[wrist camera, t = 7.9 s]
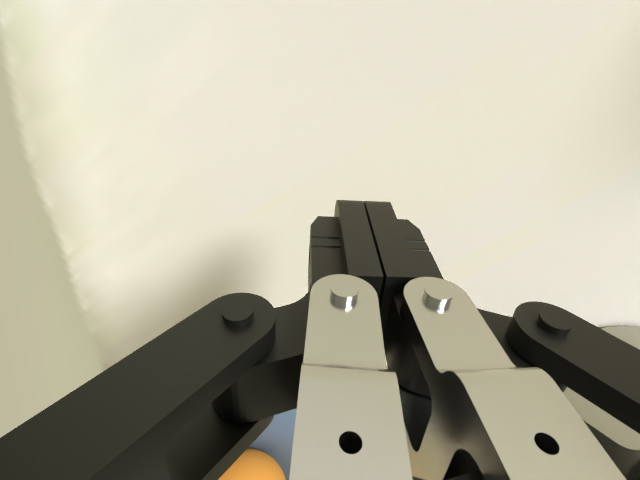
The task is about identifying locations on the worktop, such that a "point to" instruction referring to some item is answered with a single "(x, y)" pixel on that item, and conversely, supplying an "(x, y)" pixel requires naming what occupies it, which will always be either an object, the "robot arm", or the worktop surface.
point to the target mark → (278, 440)
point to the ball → (254, 467)
